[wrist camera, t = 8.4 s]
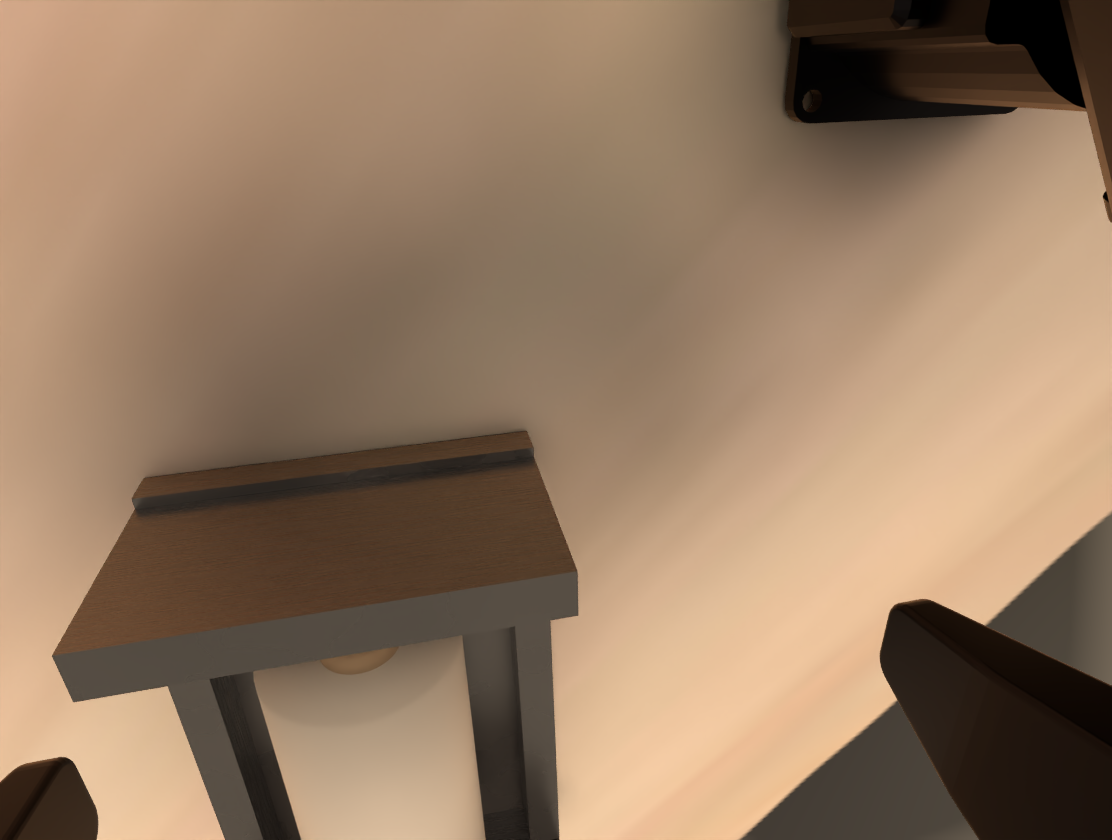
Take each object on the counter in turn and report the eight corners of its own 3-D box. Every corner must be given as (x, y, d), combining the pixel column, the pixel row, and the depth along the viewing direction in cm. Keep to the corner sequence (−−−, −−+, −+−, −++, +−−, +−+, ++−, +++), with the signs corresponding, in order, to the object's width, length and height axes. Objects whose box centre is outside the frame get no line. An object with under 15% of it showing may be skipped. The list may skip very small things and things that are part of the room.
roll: (267, 578, 19) (227, 729, 15) (453, 553, 20) (467, 689, 16) (330, 816, 24) (313, 986, 19) (480, 788, 25) (497, 945, 20)
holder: (526, 431, 20) (577, 559, 15) (546, 802, 27) (584, 978, 22) (143, 478, 18) (46, 643, 13) (272, 862, 25) (242, 1068, 20)
